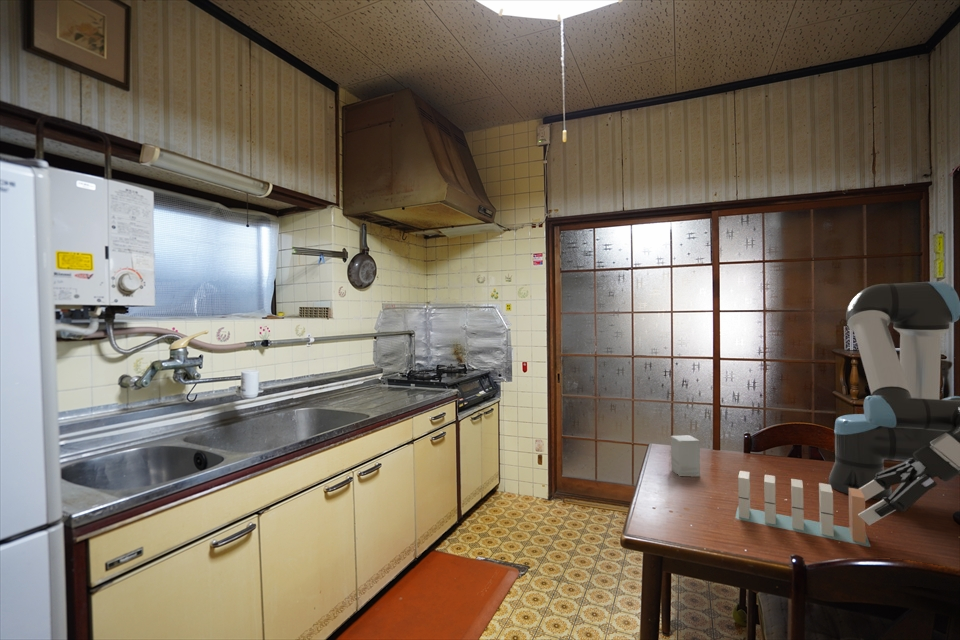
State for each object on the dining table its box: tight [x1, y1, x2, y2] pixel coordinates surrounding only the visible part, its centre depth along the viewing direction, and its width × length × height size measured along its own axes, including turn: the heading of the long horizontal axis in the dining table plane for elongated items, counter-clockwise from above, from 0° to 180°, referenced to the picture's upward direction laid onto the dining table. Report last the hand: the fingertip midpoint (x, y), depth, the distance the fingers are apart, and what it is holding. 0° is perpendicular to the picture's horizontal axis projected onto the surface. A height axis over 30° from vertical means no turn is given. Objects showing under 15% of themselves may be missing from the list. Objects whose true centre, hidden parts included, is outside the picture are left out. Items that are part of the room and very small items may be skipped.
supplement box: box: [670, 434, 701, 477], centre depth 157 cm, size 7×7×13 cm
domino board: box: [734, 505, 872, 548], centre depth 116 cm, size 28×9×1 cm, turn 56°
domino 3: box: [790, 478, 805, 530], centre depth 116 cm, size 2×6×11 cm, turn 146°
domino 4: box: [818, 482, 834, 537], centre depth 113 cm, size 2×6×11 cm, turn 146°
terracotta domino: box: [848, 488, 867, 543], centre depth 109 cm, size 2×6×11 cm, turn 146°
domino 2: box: [763, 474, 777, 525], centre depth 120 cm, size 2×6×11 cm, turn 146°
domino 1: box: [737, 470, 751, 519], centre depth 123 cm, size 2×6×11 cm, turn 146°
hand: (859, 508), depth 109 cm, fingers open, 13 cm apart
